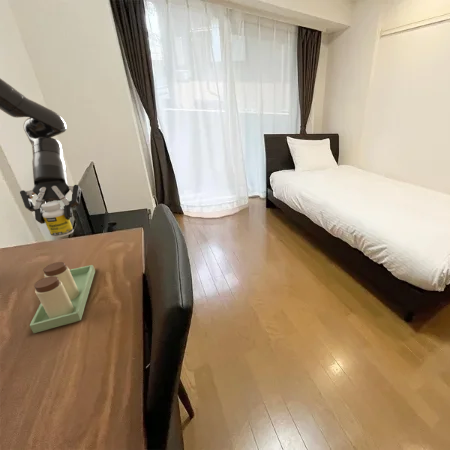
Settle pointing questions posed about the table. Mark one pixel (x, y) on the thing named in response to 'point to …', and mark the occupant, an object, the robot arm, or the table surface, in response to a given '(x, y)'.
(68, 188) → the robot arm
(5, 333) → the table surface
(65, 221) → the supplement bottle
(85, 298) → the tray
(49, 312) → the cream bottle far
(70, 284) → the cream bottle middle
